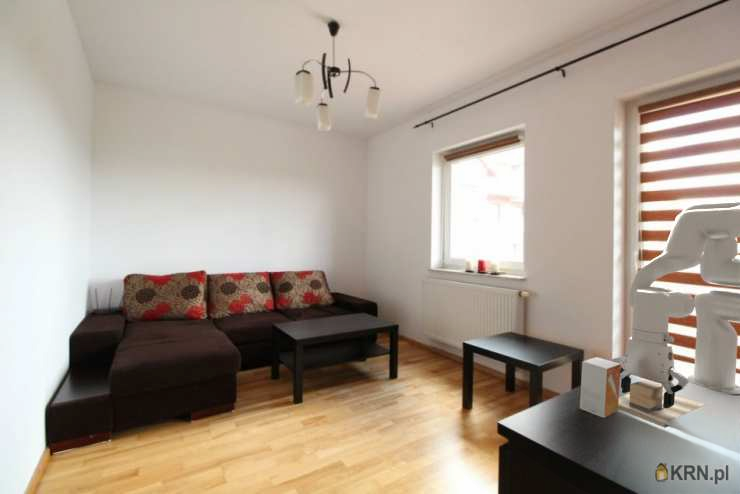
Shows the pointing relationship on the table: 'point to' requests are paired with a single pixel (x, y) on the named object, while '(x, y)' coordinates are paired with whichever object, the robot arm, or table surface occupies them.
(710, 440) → the table surface
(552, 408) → the table surface
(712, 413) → the table surface
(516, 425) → the table surface
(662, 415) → the board
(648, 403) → the block
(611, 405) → the small box
